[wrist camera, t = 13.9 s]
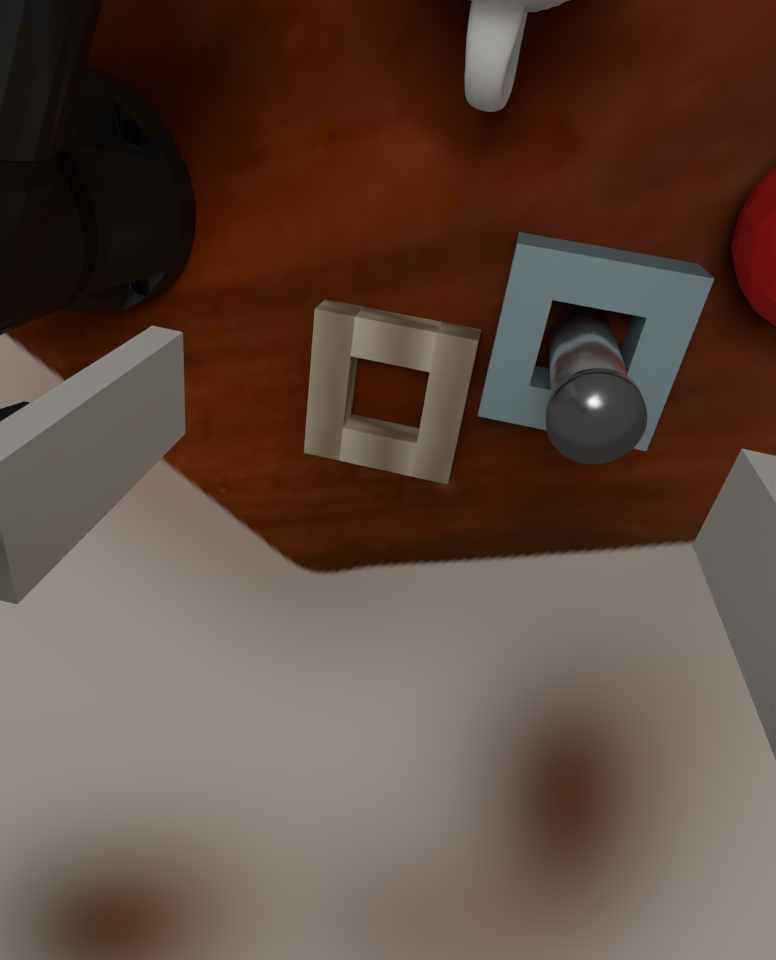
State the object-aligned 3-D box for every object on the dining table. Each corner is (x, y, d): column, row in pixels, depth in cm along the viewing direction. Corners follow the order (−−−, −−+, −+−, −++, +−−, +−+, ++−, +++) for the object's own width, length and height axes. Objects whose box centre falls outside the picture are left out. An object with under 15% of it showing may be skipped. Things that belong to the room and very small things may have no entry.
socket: (482, 393, 46) (477, 416, 42) (518, 231, 40) (517, 243, 37) (638, 425, 45) (646, 451, 41) (698, 263, 39) (714, 278, 36)
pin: (536, 360, 44) (535, 453, 32) (554, 293, 41) (560, 366, 30) (604, 374, 43) (628, 472, 31) (626, 306, 41) (661, 386, 29)
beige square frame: (313, 438, 50) (303, 452, 48) (325, 299, 45) (314, 308, 43) (451, 468, 49) (447, 484, 47) (481, 329, 44) (478, 340, 41)
